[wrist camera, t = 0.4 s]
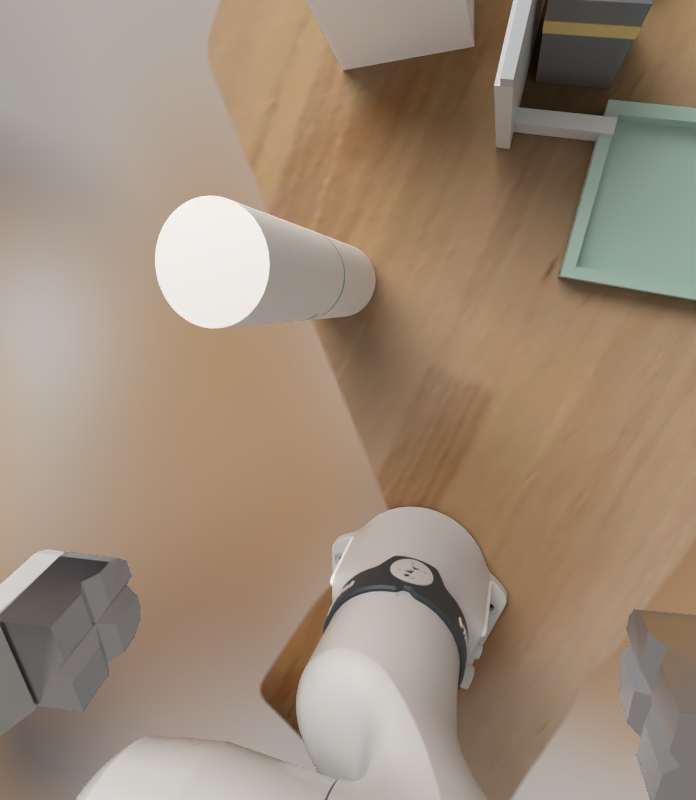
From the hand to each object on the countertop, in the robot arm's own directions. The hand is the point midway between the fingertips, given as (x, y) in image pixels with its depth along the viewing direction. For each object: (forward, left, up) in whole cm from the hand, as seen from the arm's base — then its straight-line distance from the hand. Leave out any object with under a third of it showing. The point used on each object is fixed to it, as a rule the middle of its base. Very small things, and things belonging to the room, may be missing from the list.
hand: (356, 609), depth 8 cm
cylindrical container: (+4, +15, -44) cm, 47 cm away
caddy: (+26, -2, -44) cm, 51 cm away
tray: (+15, -12, -44) cm, 48 cm away
